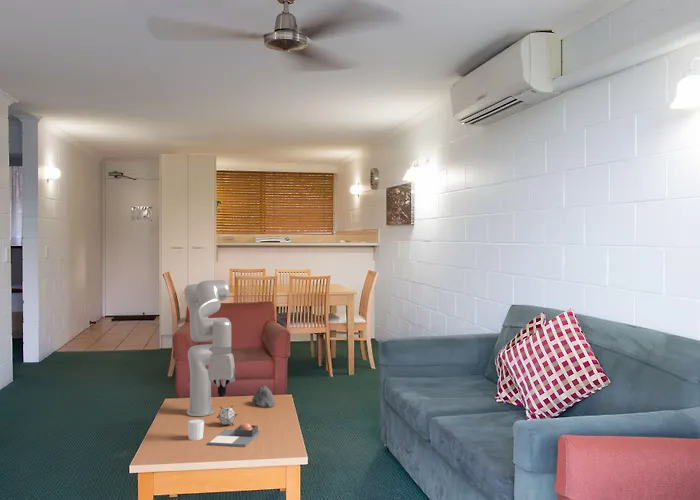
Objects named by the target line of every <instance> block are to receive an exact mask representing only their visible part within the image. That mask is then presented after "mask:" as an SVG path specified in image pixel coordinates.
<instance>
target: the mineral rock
mask: <svg viewBox="0 0 700 500" xmlns="http://www.w3.org/2000/svg"><path fill="white" fill-rule="evenodd" d="M251 401H252V403H253V404H254V405H257V406H260V407H261V408H264V407H265V408H264V409H266V408H273V407H274V406H275V405H276V402H275V397H274V394H273V393H272V391H271V390H270V389H269V388H268V387H267V386H266V385H265V384H263V385H261V387H258V389H257V391H256V392H255V394H254V395H253V397H252V399H251Z"/></svg>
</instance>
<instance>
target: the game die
mask: <svg viewBox="0 0 700 500" xmlns="http://www.w3.org/2000/svg"><path fill="white" fill-rule="evenodd" d="M233 406H234V405H231V406H229V407H222V406H221V405H220V410H219V413H218V415H217V416H216V418H217V419H218V420H219V421H220V423H221V426H220V427H223V426H225V425H232V426H234V421H235V418H236V416H238V414H237V413H236V412H235V410H234V409H233Z"/></svg>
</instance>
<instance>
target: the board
mask: <svg viewBox="0 0 700 500" xmlns="http://www.w3.org/2000/svg"><path fill="white" fill-rule="evenodd" d="M242 425H243V424H240V425H239V426H237V427H236V428H235V429H226V428H225V429H223V430H222V431H220V432H219V433H218V434H217V435H216V436H214V437H213V438H211V440H209V441H208V444H207V445H208V446H220V447H238V448H246V447H247V446H248V445H249V444H250V443H251V442H252V441H253V440H255V438H257V436H258V435H259V434H260V431H259V426H258V425H253V424H250V425H251V426H252V428H253V429H252V430H240V428H241V426H242Z"/></svg>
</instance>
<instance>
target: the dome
mask: <svg viewBox="0 0 700 500" xmlns="http://www.w3.org/2000/svg"><path fill="white" fill-rule="evenodd" d="M241 425H242V426H241V428H240V430H252V429H253V428H252V426H251V425H252V424H251V423H249V422H244V423H242V424H241Z"/></svg>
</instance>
